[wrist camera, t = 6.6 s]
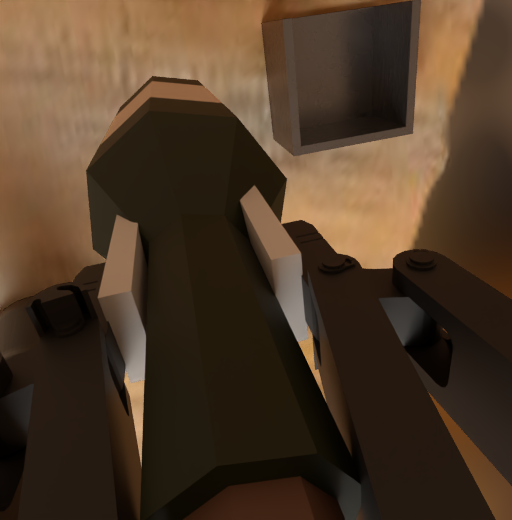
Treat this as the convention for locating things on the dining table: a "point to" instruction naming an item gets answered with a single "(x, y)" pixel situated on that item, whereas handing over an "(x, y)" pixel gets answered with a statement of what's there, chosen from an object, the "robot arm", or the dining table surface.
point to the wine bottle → (214, 321)
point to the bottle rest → (342, 76)
